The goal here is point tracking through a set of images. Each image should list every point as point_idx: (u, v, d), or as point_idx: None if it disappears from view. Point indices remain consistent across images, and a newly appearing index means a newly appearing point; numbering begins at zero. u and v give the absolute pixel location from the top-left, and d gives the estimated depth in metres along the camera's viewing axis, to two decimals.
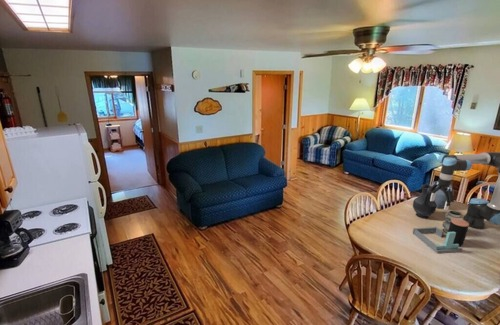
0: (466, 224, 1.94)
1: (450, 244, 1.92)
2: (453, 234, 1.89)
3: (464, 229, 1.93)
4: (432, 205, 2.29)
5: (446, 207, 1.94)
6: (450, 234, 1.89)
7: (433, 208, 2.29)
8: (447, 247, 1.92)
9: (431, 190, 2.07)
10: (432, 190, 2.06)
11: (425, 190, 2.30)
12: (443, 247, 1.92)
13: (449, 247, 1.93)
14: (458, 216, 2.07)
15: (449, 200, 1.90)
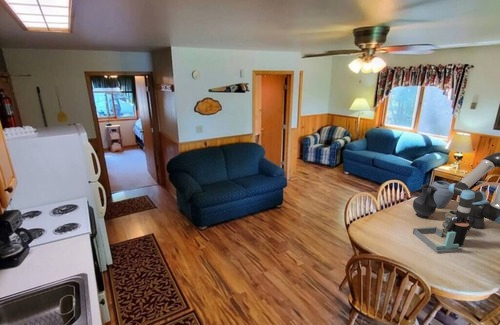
0: (466, 224, 1.94)
1: (450, 244, 1.92)
2: (453, 234, 1.89)
3: (464, 229, 1.93)
4: (432, 205, 2.29)
5: None
6: (450, 234, 1.89)
7: (433, 208, 2.29)
8: (447, 247, 1.92)
9: None
10: None
11: (425, 190, 2.30)
12: (443, 247, 1.92)
13: (449, 247, 1.93)
14: None
15: None
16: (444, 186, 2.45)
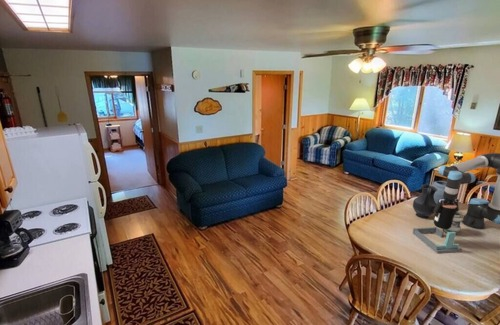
0: (454, 206, 1.89)
1: (450, 244, 1.92)
2: (453, 234, 1.89)
3: (452, 211, 1.88)
4: (432, 205, 2.29)
5: (435, 218, 1.96)
6: (450, 234, 1.89)
7: (433, 208, 2.29)
8: (447, 247, 1.92)
9: None
10: None
11: (425, 190, 2.30)
12: (443, 247, 1.92)
13: (449, 247, 1.93)
14: (458, 216, 2.07)
15: None
16: (444, 186, 2.45)
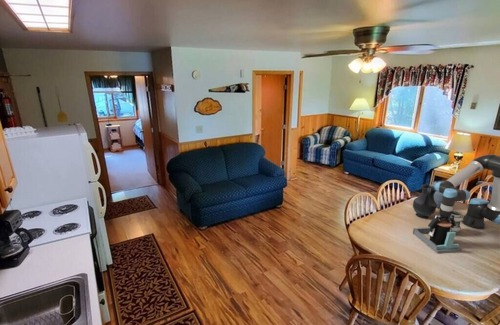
0: (448, 224, 1.94)
1: (450, 244, 1.92)
2: (453, 234, 1.89)
3: (447, 229, 1.93)
4: (432, 205, 2.29)
5: (430, 233, 1.99)
6: (450, 234, 1.89)
7: (433, 208, 2.29)
8: (447, 247, 1.92)
9: None
10: (452, 224, 1.99)
11: (425, 190, 2.30)
12: (443, 247, 1.92)
13: (449, 247, 1.93)
14: (458, 216, 2.07)
15: None
16: None
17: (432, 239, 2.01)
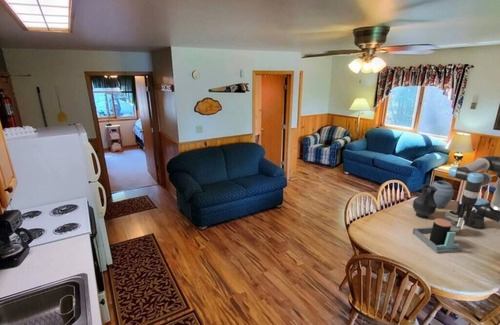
0: (448, 224, 1.94)
1: (450, 244, 1.92)
2: (453, 234, 1.89)
3: (447, 229, 1.93)
4: (432, 205, 2.29)
5: (463, 227, 1.79)
6: (450, 234, 1.89)
7: (433, 208, 2.29)
8: (447, 247, 1.92)
9: (458, 214, 1.83)
10: None
11: (425, 190, 2.30)
12: (443, 247, 1.92)
13: (449, 247, 1.93)
14: None
15: (467, 219, 1.75)
16: (444, 186, 2.45)
17: (432, 239, 2.01)
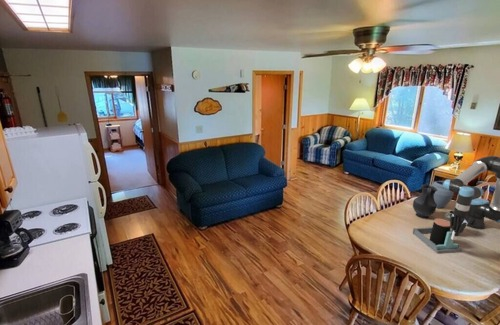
0: (448, 224, 1.94)
1: (450, 244, 1.92)
2: None
3: (447, 229, 1.93)
4: (432, 205, 2.29)
5: (454, 237, 1.87)
6: (450, 234, 1.89)
7: (433, 208, 2.29)
8: (447, 247, 1.93)
9: (452, 226, 1.88)
10: None
11: (425, 190, 2.30)
12: (443, 247, 1.93)
13: (449, 247, 1.93)
14: None
15: (458, 230, 1.83)
16: None
17: (432, 239, 2.01)
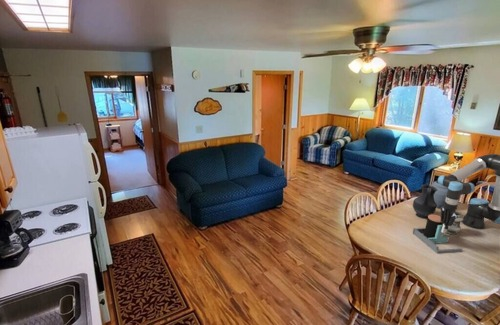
0: None
1: (440, 237, 2.00)
2: None
3: (440, 224, 1.99)
4: (432, 205, 2.29)
5: (444, 230, 1.95)
6: (440, 227, 1.97)
7: (433, 208, 2.29)
8: (437, 240, 2.01)
9: (442, 220, 1.96)
10: None
11: (425, 190, 2.30)
12: (433, 240, 2.01)
13: (439, 240, 2.01)
14: (458, 216, 2.07)
15: (447, 223, 1.91)
16: (444, 186, 2.45)
17: (426, 234, 2.06)
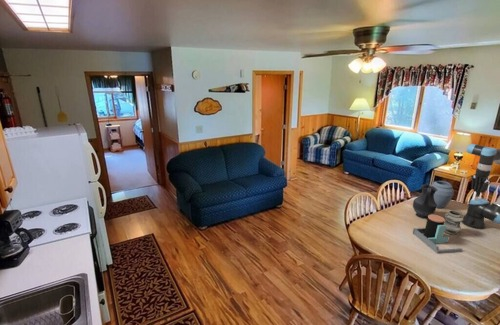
0: (442, 220, 1.99)
1: (440, 237, 2.00)
2: (443, 227, 1.98)
3: (440, 224, 1.99)
4: (432, 205, 2.29)
5: (475, 198, 1.94)
6: (440, 227, 1.97)
7: (433, 208, 2.29)
8: (437, 240, 2.01)
9: (473, 187, 1.95)
10: None
11: (425, 190, 2.30)
12: (433, 240, 2.01)
13: (439, 240, 2.01)
14: (458, 216, 2.07)
15: (479, 190, 1.89)
16: (444, 186, 2.45)
17: (426, 234, 2.06)
